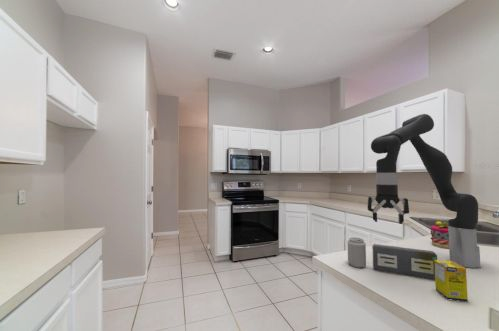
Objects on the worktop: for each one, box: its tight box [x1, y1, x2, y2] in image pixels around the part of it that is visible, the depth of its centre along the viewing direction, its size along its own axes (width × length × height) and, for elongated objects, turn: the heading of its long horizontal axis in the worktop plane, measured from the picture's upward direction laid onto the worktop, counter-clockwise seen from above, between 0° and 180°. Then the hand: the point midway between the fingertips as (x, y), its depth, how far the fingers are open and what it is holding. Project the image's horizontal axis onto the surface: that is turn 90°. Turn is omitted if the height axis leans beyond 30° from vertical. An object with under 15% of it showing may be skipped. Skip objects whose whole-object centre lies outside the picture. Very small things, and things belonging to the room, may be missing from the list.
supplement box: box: [434, 259, 469, 303], centre depth 71 cm, size 6×6×11 cm
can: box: [347, 236, 367, 269], centre depth 95 cm, size 8×8×12 cm
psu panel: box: [371, 243, 438, 281], centre depth 87 cm, size 22×4×11 cm, turn 65°
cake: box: [429, 220, 449, 250], centre depth 121 cm, size 10×10×15 cm
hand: (387, 222), depth 85 cm, fingers open, 8 cm apart
